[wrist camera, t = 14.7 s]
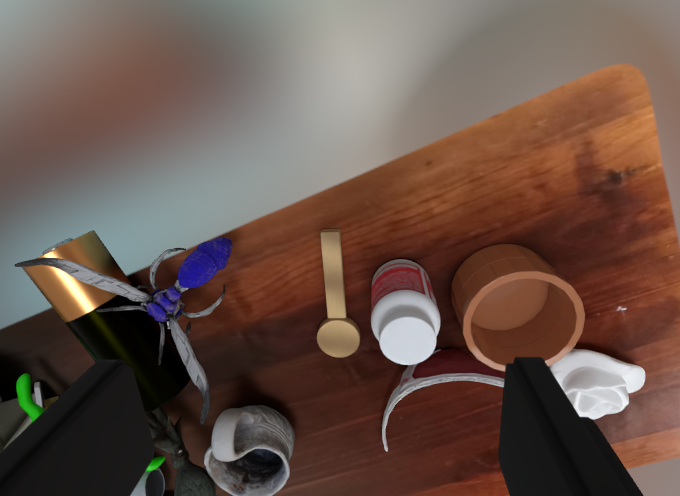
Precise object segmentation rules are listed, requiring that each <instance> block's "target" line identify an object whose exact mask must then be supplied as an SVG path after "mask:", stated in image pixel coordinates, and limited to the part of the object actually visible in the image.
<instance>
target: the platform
mask: <svg viewBox="0 0 680 496" xmlns="http://www.w3.org/2000/svg"><path fill="white" fill-rule="evenodd" d="M34 391H35V393H32V394H31V395H32V399H33V401H34V402H35V403H36V404H38V405H40V406H41V407H42V408H43V409H44V410H46V409H47V408H48V407H49V406H48V405H47V404H46V402H47V403H48V404H49V405H51V404H50V403H49V402H48V401H47V400H49V401H50V402H51V403H53V401H56V400H57V399H58V396H57V397H53V398H50V399H47V400H45V398H44V394H43V391H42V387H41V383H40V381H39V382H36V383H34ZM54 398H55V399H56V400H55V399H54ZM51 399H52V400H53V401H52V400H51ZM31 422H32V421H31V418H30V416H29V415H28V414H27V413H26V412H25V411H24V410H23V409H22V408H21V406H20V404H19V400H18V398H15V399H12V400H9V401H5V402H2V403H1V401H0V453H1V452H2V451H3V450H4V449H5V448H6V447H7V446H8V445H9V444H10V443H11V442H12V441H13V440H14V439H15V438H16V437H18V436H19V435H20V434H21V433H22V432H23V431H24V430H25V429H26V428H27V427H28V426H29V425H30V424H31Z"/></svg>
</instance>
